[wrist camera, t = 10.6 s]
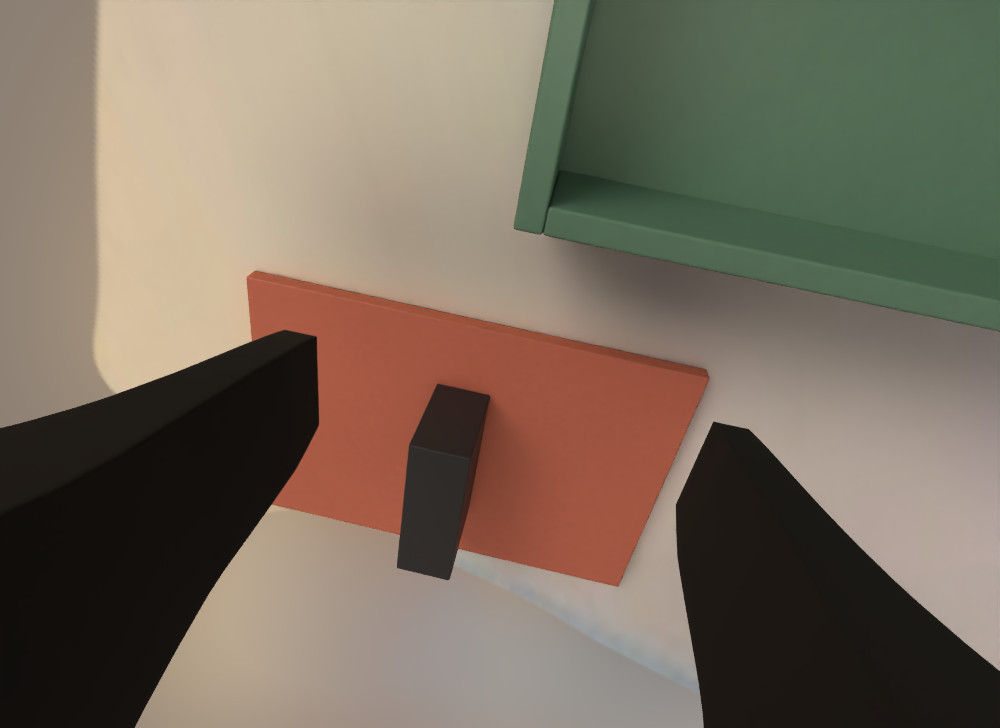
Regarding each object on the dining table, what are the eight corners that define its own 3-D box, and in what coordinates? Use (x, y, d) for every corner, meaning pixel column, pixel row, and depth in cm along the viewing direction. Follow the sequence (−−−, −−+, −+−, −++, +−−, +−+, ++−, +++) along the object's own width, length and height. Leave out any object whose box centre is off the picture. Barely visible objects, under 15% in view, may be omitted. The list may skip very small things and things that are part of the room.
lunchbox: (1497, -240, 10) (2027, -399, 6) (1074, 296, 16) (1222, 379, 12) (639, -376, 11) (660, -592, 7) (532, 184, 17) (512, 230, 13)
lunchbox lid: (707, 369, 19) (731, 447, 16) (617, 575, 25) (620, 666, 21) (255, 270, 20) (178, 322, 16) (272, 494, 26) (219, 568, 22)
